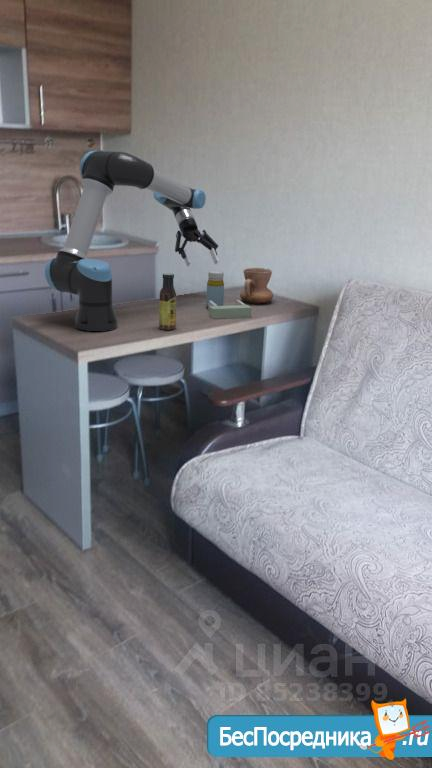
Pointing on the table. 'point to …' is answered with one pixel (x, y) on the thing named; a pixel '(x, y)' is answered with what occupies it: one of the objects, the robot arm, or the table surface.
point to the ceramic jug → (256, 285)
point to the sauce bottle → (167, 303)
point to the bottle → (215, 288)
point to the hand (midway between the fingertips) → (203, 263)
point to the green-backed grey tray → (229, 310)
